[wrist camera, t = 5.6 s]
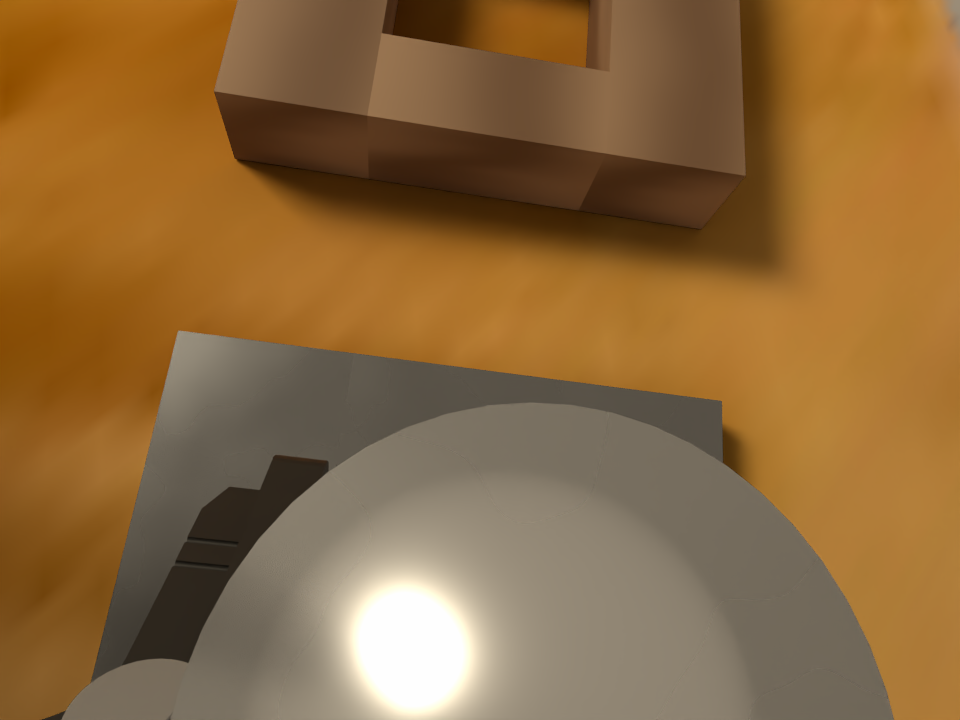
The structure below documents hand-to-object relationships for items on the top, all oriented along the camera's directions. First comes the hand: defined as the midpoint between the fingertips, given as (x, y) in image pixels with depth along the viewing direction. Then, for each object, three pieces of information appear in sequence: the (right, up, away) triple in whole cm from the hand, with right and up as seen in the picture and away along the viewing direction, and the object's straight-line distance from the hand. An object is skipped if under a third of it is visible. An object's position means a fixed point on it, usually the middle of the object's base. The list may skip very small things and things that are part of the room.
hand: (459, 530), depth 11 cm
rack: (+1, +11, +10) cm, 15 cm away
